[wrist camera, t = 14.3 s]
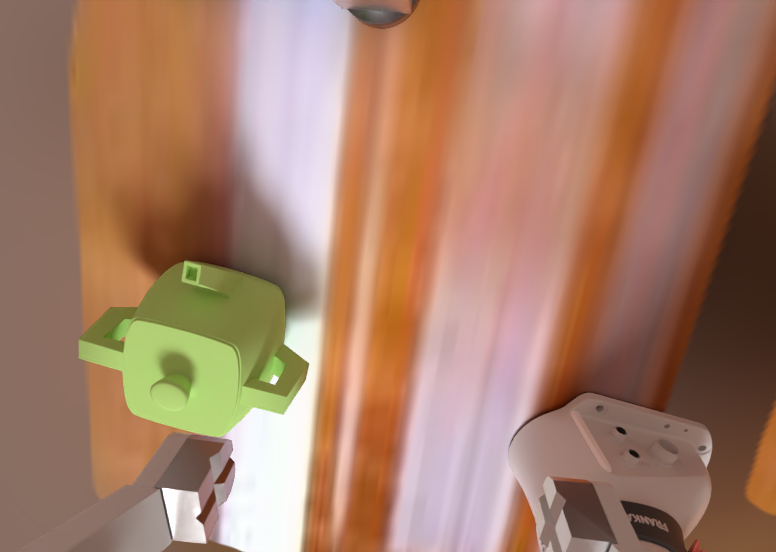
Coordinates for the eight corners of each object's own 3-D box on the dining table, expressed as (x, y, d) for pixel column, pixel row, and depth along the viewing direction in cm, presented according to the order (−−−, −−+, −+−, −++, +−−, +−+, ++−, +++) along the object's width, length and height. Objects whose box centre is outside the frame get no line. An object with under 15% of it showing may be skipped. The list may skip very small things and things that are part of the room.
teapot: (146, 195, 41) (35, 241, 30) (342, 253, 42) (311, 320, 31) (140, 344, 49) (51, 427, 37) (306, 390, 50) (270, 485, 38)
